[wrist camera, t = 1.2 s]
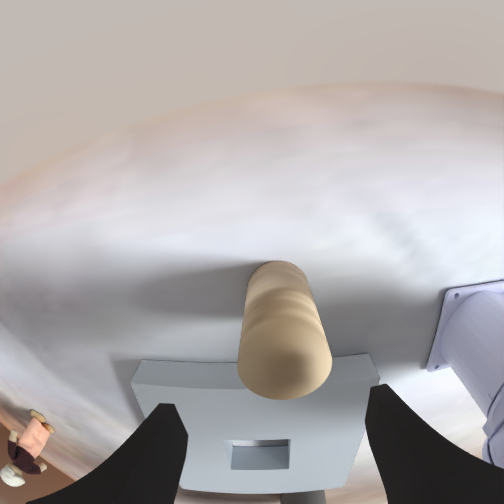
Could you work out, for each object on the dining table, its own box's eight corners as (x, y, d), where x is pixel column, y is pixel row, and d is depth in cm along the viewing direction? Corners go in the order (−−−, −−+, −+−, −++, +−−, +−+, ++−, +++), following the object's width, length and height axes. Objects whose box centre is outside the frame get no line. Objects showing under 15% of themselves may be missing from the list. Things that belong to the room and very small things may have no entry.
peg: (308, 259, 18) (335, 325, 11) (307, 314, 20) (327, 396, 12) (245, 262, 19) (232, 330, 11) (249, 317, 20) (241, 401, 12)
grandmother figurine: (22, 404, 27) (-20, 461, 14) (33, 403, 26) (-11, 465, 14) (56, 441, 28) (23, 499, 16) (69, 442, 28) (35, 505, 16)
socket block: (368, 353, 21) (380, 377, 18) (339, 467, 26) (343, 486, 23) (142, 359, 22) (129, 382, 19) (186, 469, 27) (182, 488, 24)
